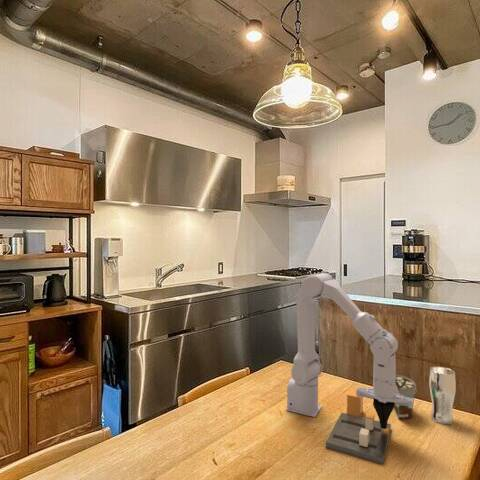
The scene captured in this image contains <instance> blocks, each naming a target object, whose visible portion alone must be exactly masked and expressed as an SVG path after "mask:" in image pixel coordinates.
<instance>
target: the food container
mask: <svg viewBox="0 0 480 480" xmlns="http://www.w3.org/2000/svg"><path fill="white" fill-rule="evenodd" d="M417 392H418V389H417V385H416V383H415V381H414V380H412V379H411V378H409V377H407V376H405V375H400V374H396V382H395V393H397V394H400V395H403V396H406V397H409V398H413V405H414V401H415V394H417ZM393 411H394V412H395V415H396V417H397V419H398V420H400V421H401V420H402V421H403V420H410V419H412V417H413V413H414V407H413V408H409V407H408V406H404V405H399V404H395V405H394V409H393Z"/></svg>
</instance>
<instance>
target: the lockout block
mask: <svg viewBox="0 0 480 480" xmlns="http://www.w3.org/2000/svg"><path fill="white" fill-rule="evenodd" d="M363 399H364V397H362V396H361V397H357V396H356V390H351V389H349V391H348V393H347V395H346V414H351V415H355V416H359V417H361V416H362V414H363V411H364V408H363V407H364V406H363V405H364V401H363Z"/></svg>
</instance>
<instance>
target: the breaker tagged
mask: <svg viewBox="0 0 480 480" xmlns="http://www.w3.org/2000/svg"><path fill="white" fill-rule="evenodd" d="M364 418H365V429H369V430H373V428H374V420H375V413H372V412H366V414H365V417H364Z"/></svg>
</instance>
